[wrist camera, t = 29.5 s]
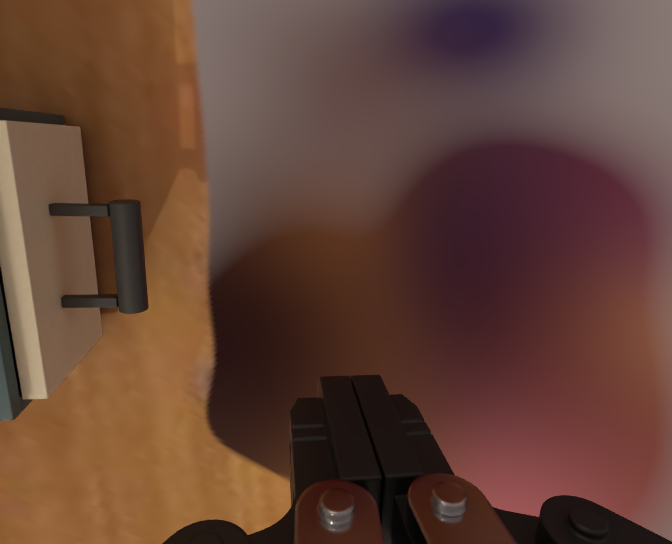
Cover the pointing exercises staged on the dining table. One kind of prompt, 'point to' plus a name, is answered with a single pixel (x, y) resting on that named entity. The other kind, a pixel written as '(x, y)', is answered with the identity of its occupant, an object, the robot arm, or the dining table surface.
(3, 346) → the cabinet
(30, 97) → the dining table surface
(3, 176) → the drawer
